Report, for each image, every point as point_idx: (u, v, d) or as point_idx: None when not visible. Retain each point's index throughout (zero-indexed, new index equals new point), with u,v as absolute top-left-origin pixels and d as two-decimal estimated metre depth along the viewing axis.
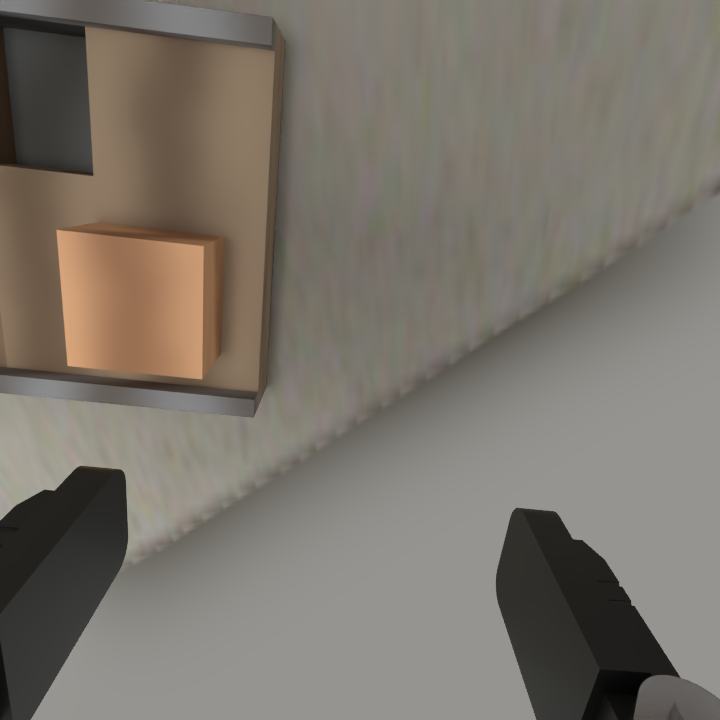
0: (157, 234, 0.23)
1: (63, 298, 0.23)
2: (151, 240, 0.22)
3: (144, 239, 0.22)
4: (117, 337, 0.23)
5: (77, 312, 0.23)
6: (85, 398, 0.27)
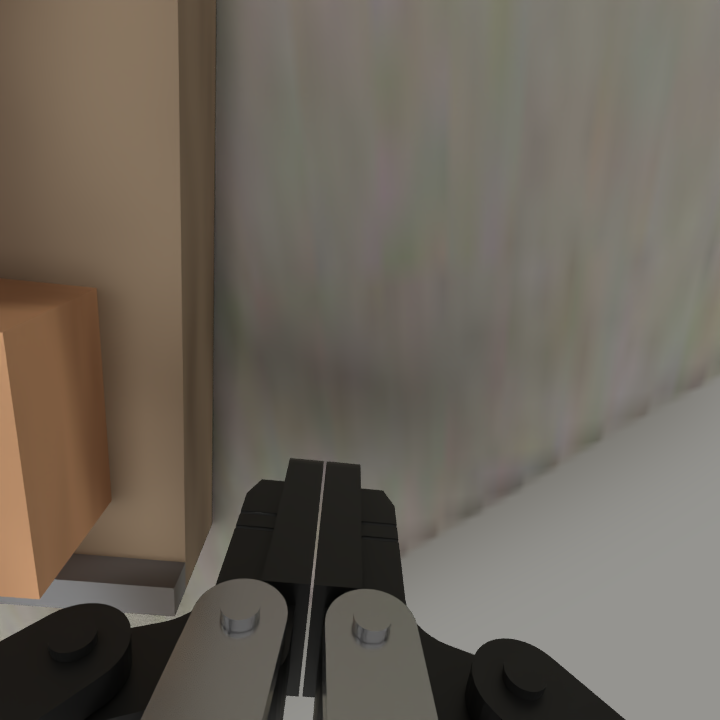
0: None
1: None
2: None
3: None
4: None
5: None
6: None
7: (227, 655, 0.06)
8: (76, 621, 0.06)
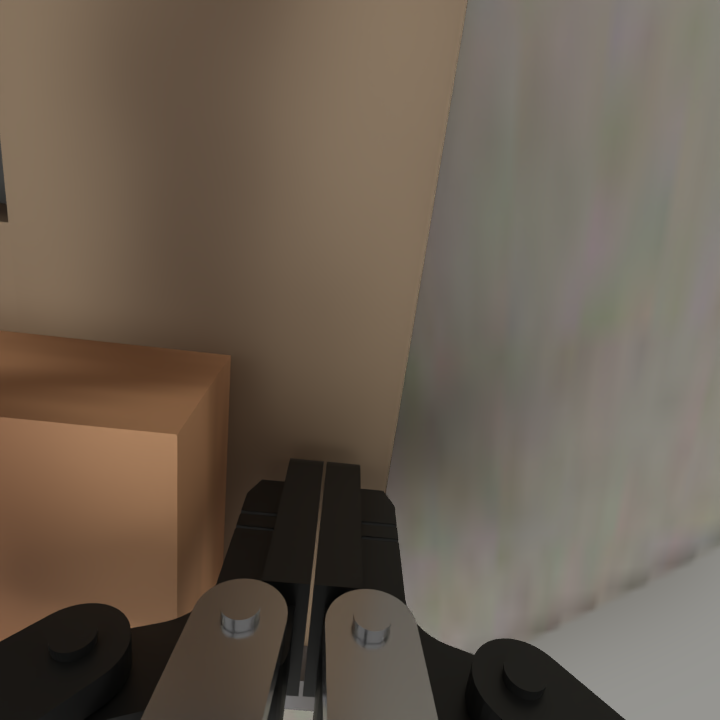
0: (64, 372, 0.09)
1: None
2: (29, 417, 0.08)
3: (8, 414, 0.08)
4: None
5: None
6: None
7: (226, 655, 0.06)
8: (76, 621, 0.06)
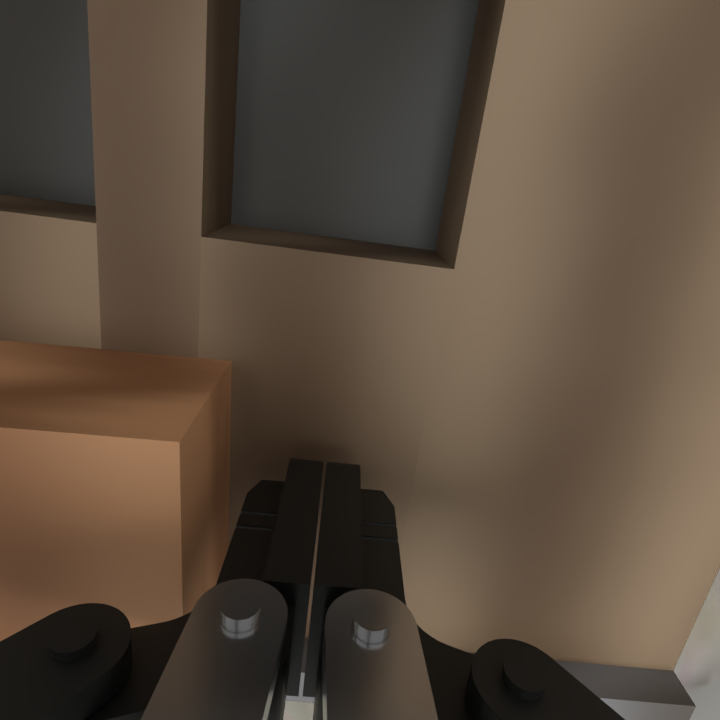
0: (67, 381, 0.09)
1: None
2: (33, 427, 0.08)
3: (13, 425, 0.08)
4: None
5: None
6: None
7: (227, 656, 0.06)
8: (74, 622, 0.06)
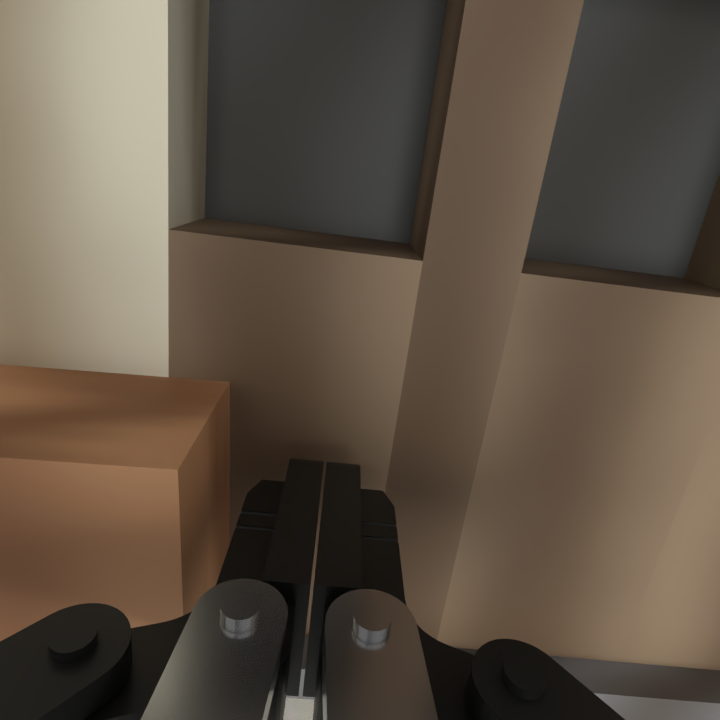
0: (68, 407, 0.09)
1: None
2: (36, 456, 0.08)
3: (16, 455, 0.08)
4: None
5: None
6: None
7: (226, 655, 0.06)
8: (76, 621, 0.06)
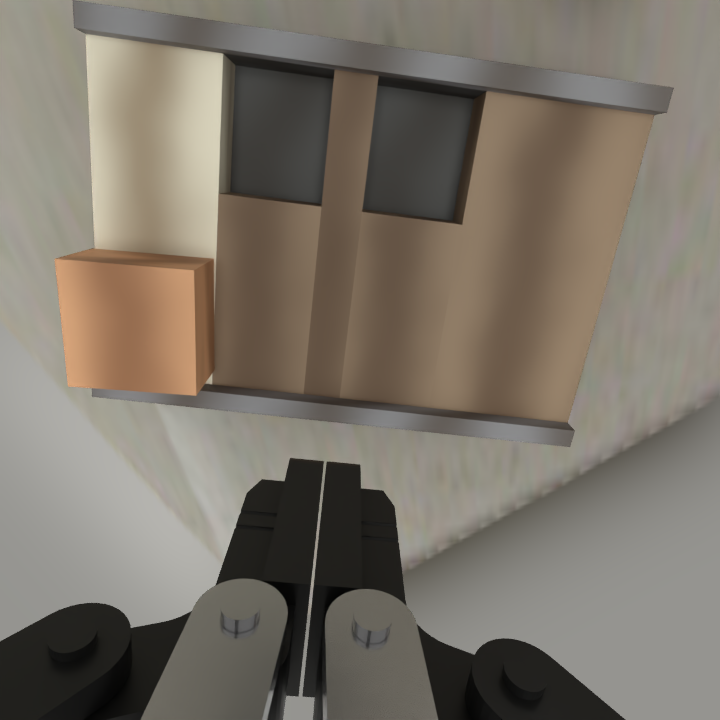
0: (150, 259, 0.24)
1: (63, 323, 0.24)
2: (145, 265, 0.23)
3: (138, 265, 0.23)
4: (115, 358, 0.24)
5: (76, 335, 0.24)
6: (417, 428, 0.28)
7: (227, 655, 0.06)
8: (75, 622, 0.06)
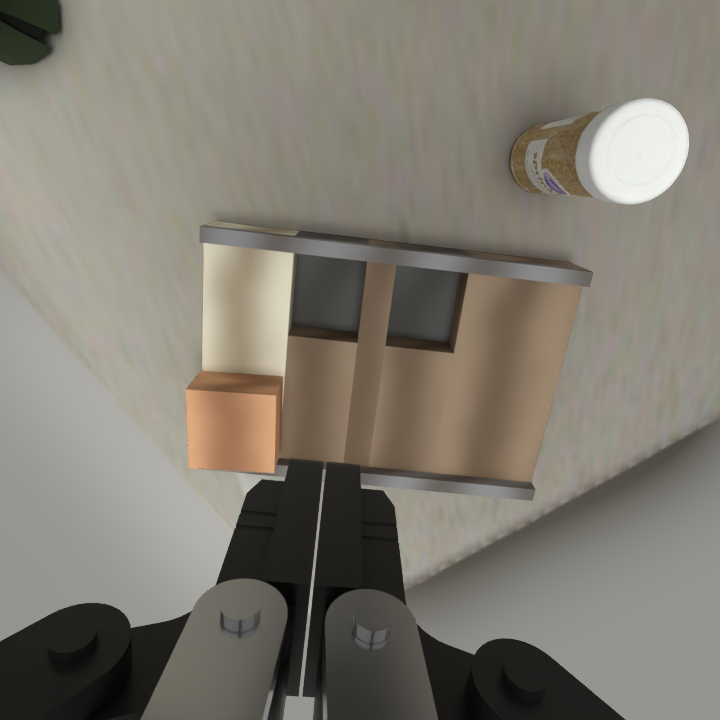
0: (243, 383, 0.36)
1: (188, 428, 0.36)
2: (244, 393, 0.35)
3: (239, 392, 0.35)
4: (221, 449, 0.36)
5: (196, 436, 0.36)
6: (424, 488, 0.40)
7: (226, 655, 0.06)
8: (75, 622, 0.06)
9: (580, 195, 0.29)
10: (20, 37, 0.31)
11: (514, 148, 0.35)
